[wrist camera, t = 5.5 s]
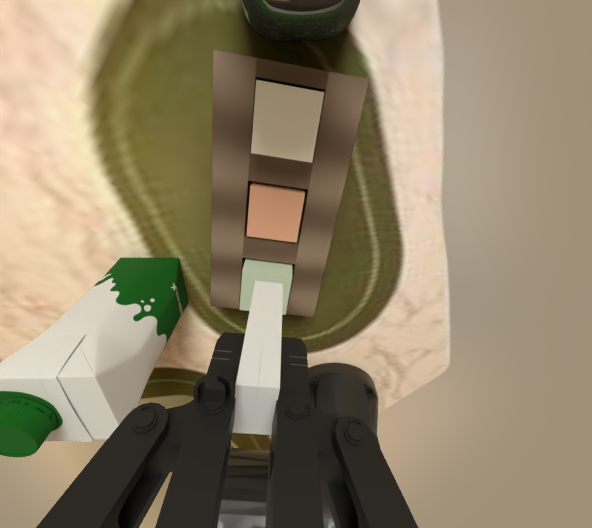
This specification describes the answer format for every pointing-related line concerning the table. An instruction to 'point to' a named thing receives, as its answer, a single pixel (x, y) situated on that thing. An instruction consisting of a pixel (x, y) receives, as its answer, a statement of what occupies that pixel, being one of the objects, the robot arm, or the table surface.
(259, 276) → the sage button
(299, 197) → the terracotta button
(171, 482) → the robot arm
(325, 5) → the coffee jar
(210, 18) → the table surface
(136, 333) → the milk carton
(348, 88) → the button console
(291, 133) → the cream button
